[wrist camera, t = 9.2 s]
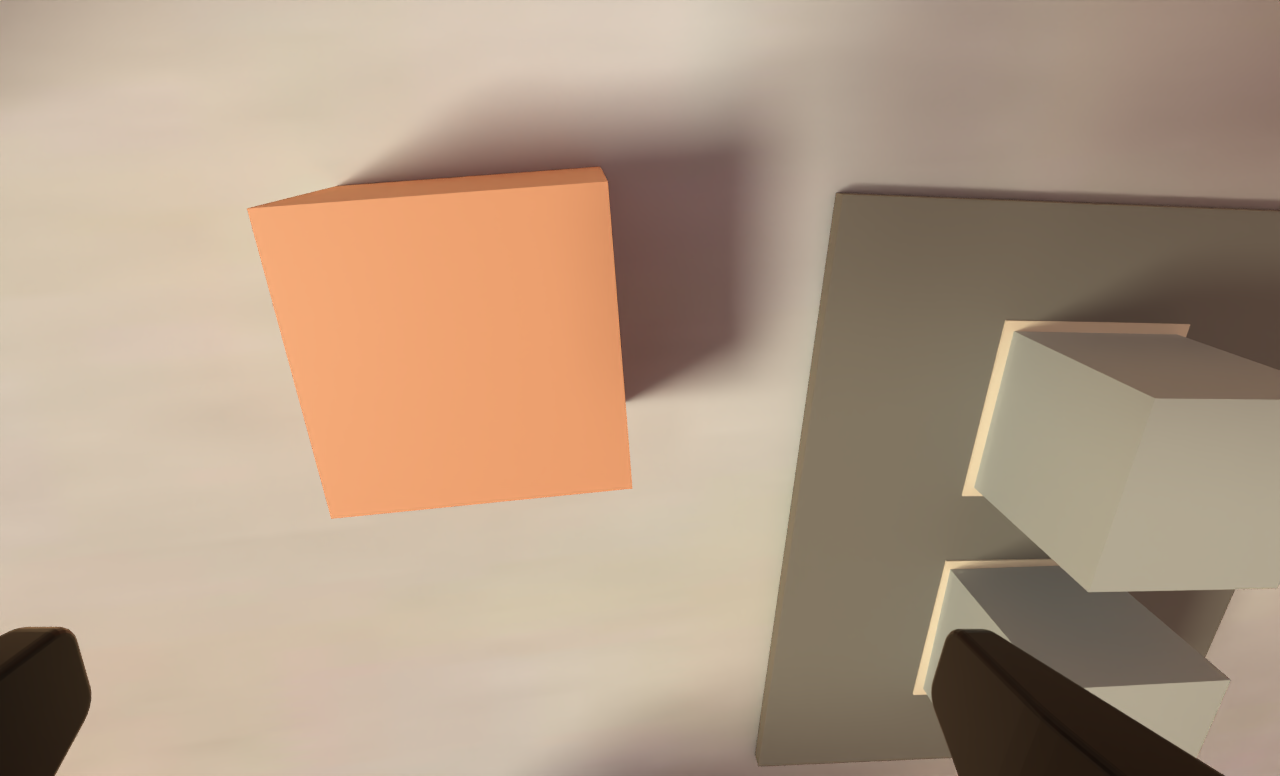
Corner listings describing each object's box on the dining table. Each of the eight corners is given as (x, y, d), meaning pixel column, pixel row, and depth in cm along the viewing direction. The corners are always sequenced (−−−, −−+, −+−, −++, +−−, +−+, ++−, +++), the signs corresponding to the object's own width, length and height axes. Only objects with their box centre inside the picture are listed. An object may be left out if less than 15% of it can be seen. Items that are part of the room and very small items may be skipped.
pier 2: (1057, 681, 24) (1172, 814, 19) (923, 688, 24) (1007, 825, 19) (1095, 564, 22) (1231, 679, 18) (950, 569, 22) (1050, 689, 17)
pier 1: (1124, 487, 21) (1277, 588, 17) (974, 487, 21) (1088, 592, 16) (1177, 334, 19) (1365, 400, 15) (1014, 331, 19) (1155, 398, 14)
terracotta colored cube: (619, 402, 20) (632, 488, 15) (391, 423, 19) (330, 518, 15) (599, 166, 17) (608, 181, 12) (338, 185, 17) (247, 208, 12)
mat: (1154, 737, 26) (1166, 749, 26) (754, 754, 25) (758, 767, 24) (1379, 214, 19) (1401, 217, 19) (836, 192, 18) (843, 195, 17)
